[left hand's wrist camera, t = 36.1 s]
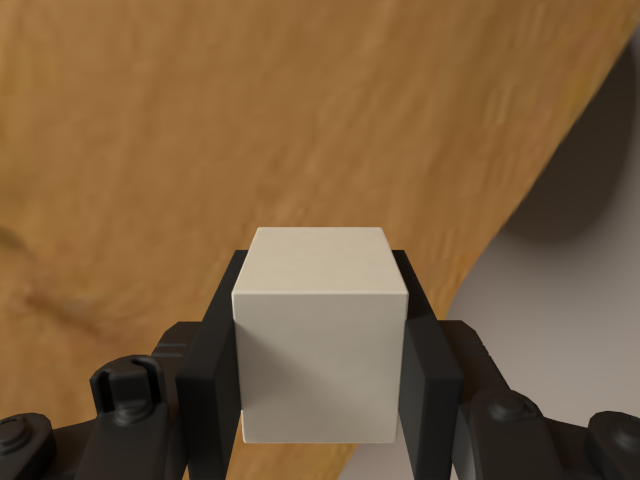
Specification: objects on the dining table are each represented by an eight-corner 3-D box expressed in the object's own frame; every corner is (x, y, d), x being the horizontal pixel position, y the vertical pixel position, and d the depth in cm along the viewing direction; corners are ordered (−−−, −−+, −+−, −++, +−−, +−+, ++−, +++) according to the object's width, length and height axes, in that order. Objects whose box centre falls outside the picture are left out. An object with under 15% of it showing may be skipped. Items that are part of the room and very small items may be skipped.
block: (382, 226, 14) (409, 291, 10) (376, 343, 16) (397, 444, 12) (257, 226, 14) (230, 291, 10) (263, 344, 16) (242, 444, 12)
